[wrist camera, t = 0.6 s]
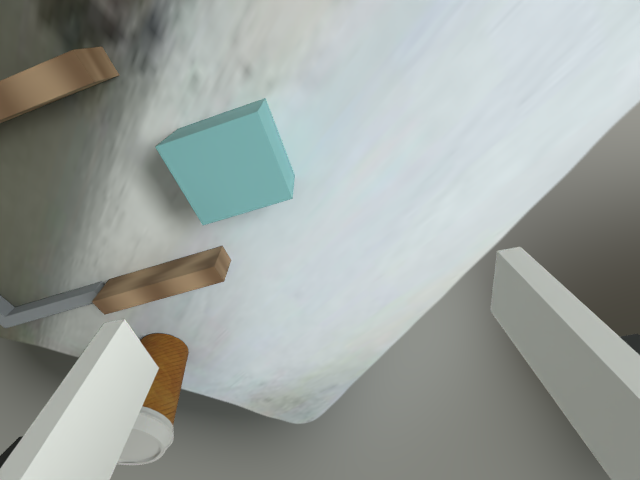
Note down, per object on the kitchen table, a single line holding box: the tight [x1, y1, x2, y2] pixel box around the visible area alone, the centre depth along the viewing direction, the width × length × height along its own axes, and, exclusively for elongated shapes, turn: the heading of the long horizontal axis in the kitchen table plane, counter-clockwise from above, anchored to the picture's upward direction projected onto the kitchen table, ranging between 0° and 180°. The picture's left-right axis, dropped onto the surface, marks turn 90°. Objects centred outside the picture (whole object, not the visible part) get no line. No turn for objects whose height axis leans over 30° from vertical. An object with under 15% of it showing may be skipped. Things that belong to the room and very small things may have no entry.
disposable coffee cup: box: [117, 333, 189, 465], centre depth 38 cm, size 10×10×12 cm
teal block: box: [156, 98, 295, 225], centre depth 27 cm, size 8×7×5 cm
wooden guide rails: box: [0, 47, 231, 315], centre depth 29 cm, size 14×21×4 cm, turn 18°
